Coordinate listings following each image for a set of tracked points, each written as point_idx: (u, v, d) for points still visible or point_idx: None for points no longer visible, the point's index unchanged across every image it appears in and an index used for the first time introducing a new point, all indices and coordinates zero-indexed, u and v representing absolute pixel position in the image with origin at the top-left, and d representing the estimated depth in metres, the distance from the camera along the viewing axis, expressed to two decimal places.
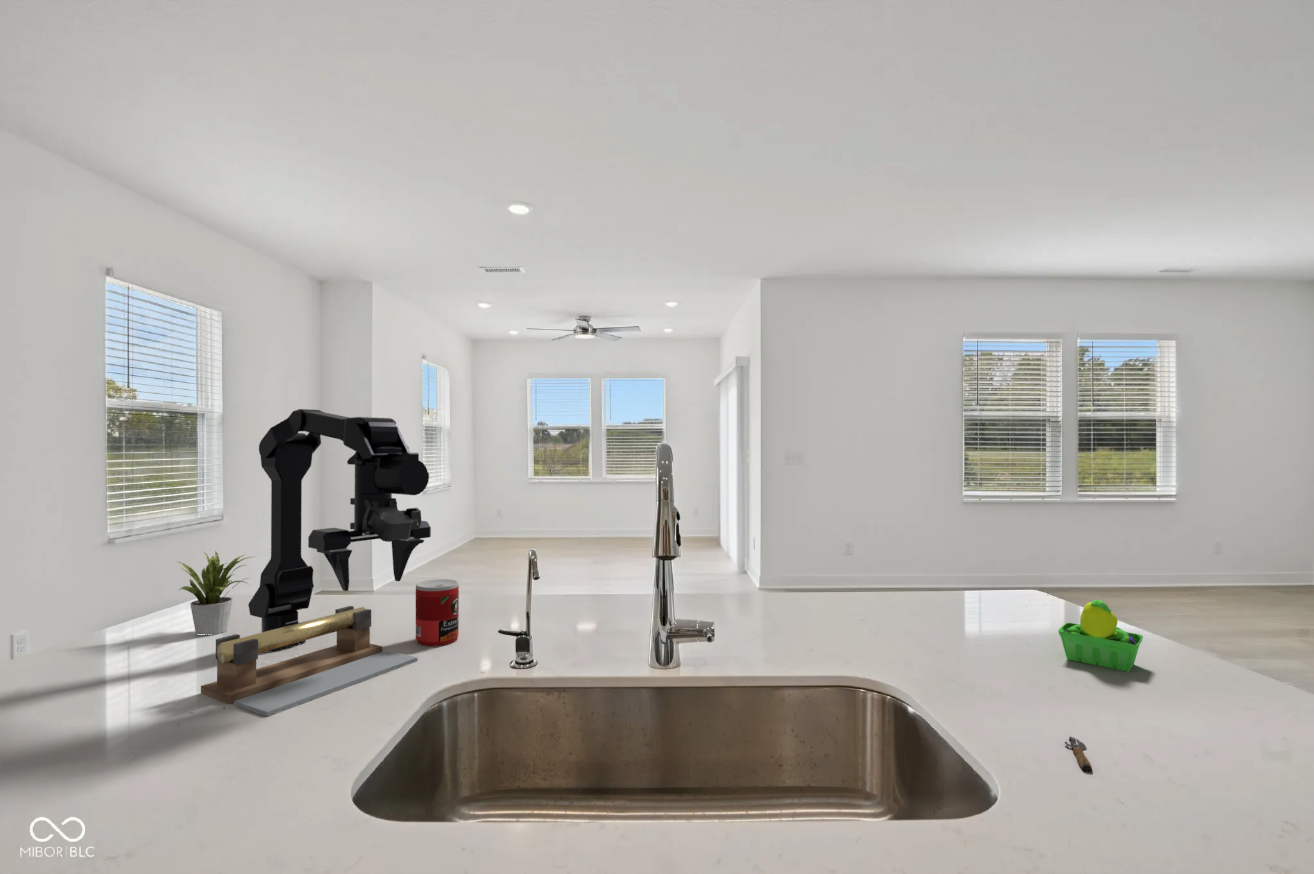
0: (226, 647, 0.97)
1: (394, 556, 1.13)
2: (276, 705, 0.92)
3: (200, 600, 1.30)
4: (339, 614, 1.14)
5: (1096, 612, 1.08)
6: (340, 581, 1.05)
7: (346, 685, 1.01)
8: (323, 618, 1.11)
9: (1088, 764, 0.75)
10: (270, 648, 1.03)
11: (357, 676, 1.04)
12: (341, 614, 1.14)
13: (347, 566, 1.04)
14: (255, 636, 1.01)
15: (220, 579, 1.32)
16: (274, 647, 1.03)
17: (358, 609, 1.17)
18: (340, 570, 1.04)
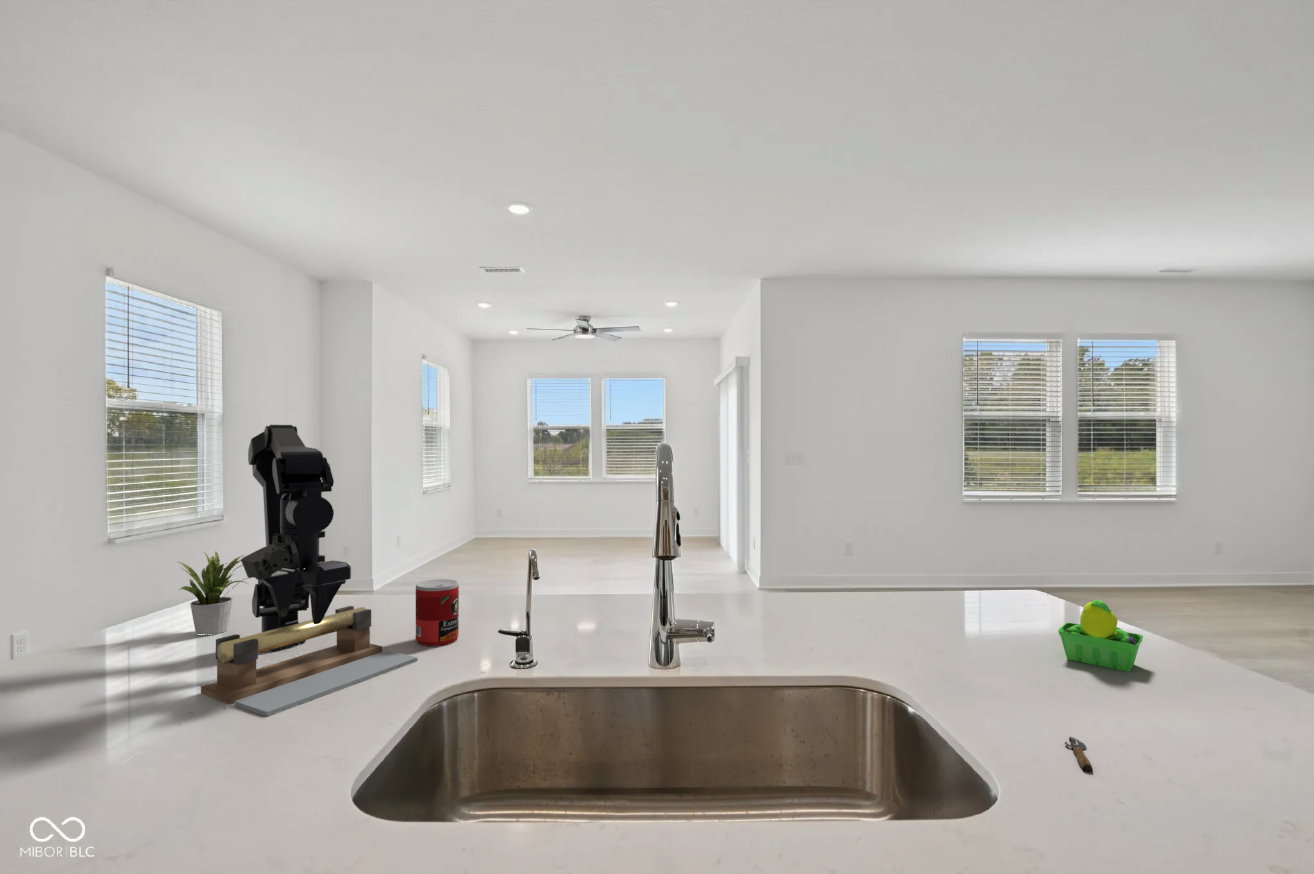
0: (226, 647, 0.97)
1: None
2: (276, 705, 0.92)
3: (200, 600, 1.30)
4: (339, 614, 1.14)
5: (1096, 612, 1.08)
6: None
7: (346, 685, 1.01)
8: (323, 618, 1.11)
9: (1088, 764, 0.75)
10: (270, 648, 1.03)
11: (357, 676, 1.04)
12: (341, 614, 1.14)
13: (273, 593, 1.09)
14: (255, 636, 1.01)
15: (220, 579, 1.32)
16: (274, 647, 1.03)
17: (358, 609, 1.17)
18: None
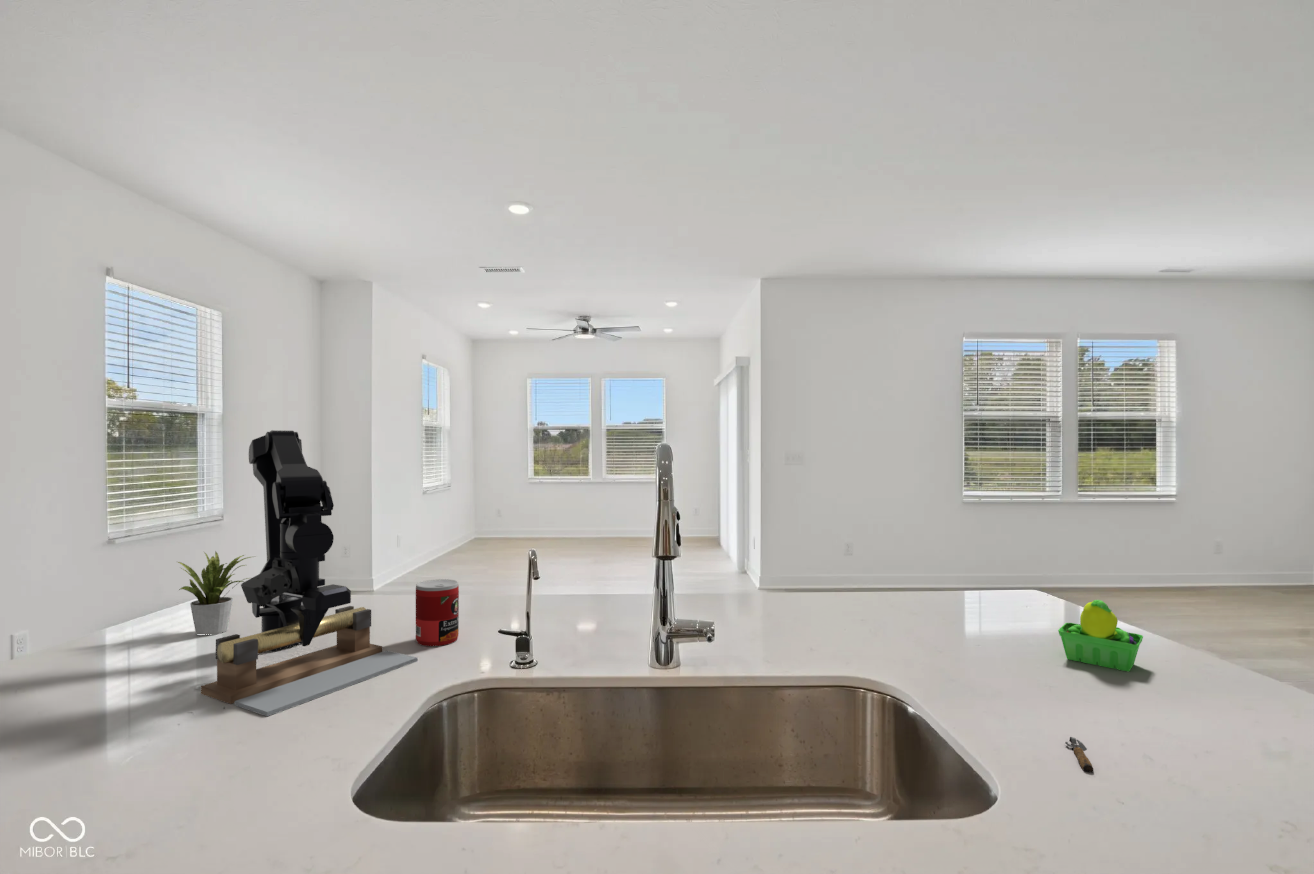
0: (225, 647, 0.97)
1: None
2: (276, 705, 0.92)
3: (200, 600, 1.30)
4: (339, 614, 1.14)
5: (1096, 612, 1.08)
6: None
7: (346, 685, 1.01)
8: (323, 618, 1.11)
9: (1089, 764, 0.75)
10: (270, 648, 1.03)
11: (357, 676, 1.04)
12: (341, 614, 1.14)
13: (284, 619, 1.08)
14: (255, 636, 1.01)
15: (220, 579, 1.32)
16: (274, 647, 1.03)
17: (358, 609, 1.17)
18: None
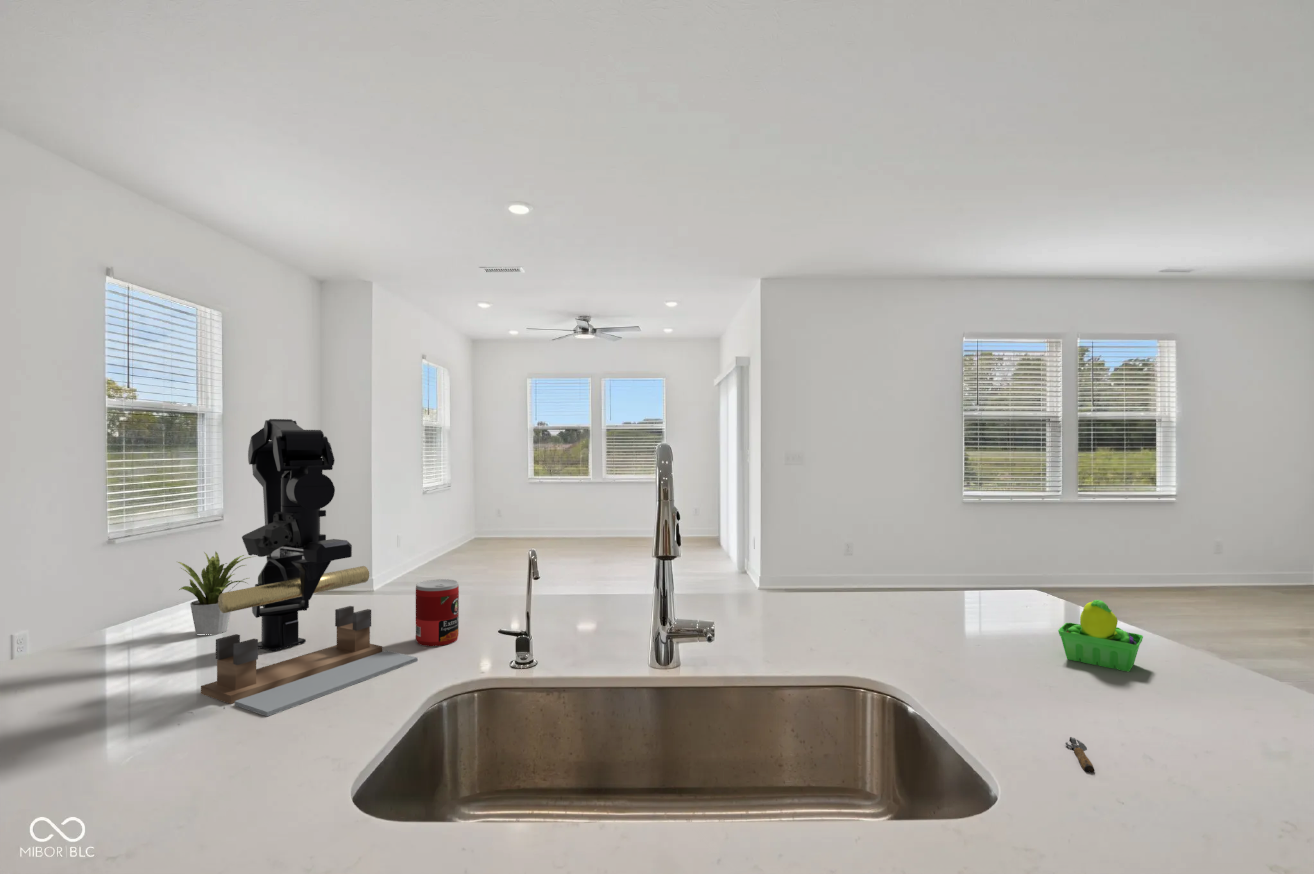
0: (226, 596, 0.97)
1: None
2: (276, 705, 0.92)
3: (200, 600, 1.30)
4: (340, 571, 1.14)
5: (1096, 612, 1.08)
6: None
7: (346, 685, 1.01)
8: (324, 574, 1.11)
9: (1090, 765, 0.75)
10: (271, 600, 1.03)
11: (357, 676, 1.04)
12: (342, 571, 1.14)
13: (285, 574, 1.08)
14: (256, 588, 1.01)
15: (220, 579, 1.32)
16: (275, 600, 1.03)
17: (359, 567, 1.17)
18: None
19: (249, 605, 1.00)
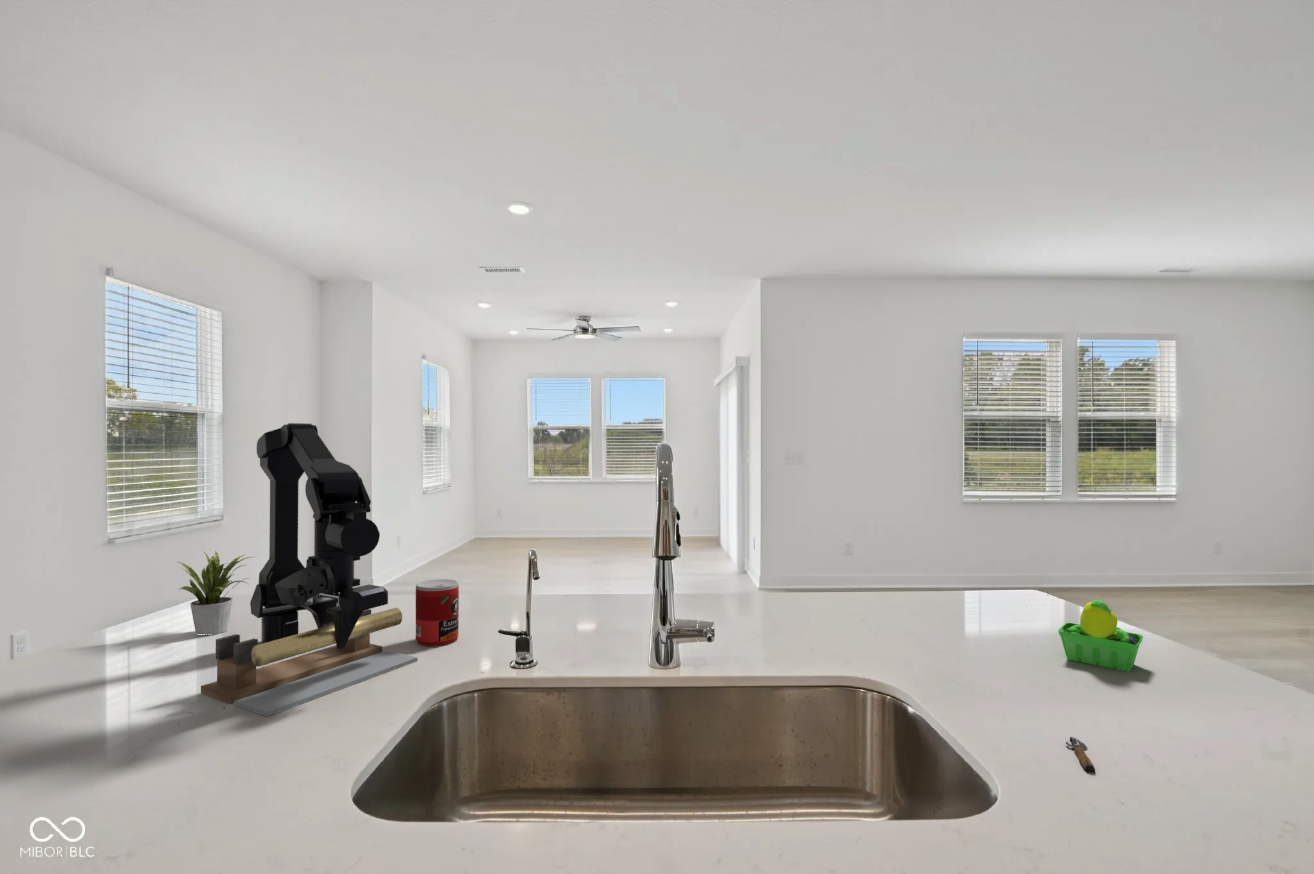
0: (261, 649, 0.93)
1: None
2: (276, 705, 0.92)
3: (200, 600, 1.30)
4: (373, 615, 1.10)
5: (1096, 612, 1.08)
6: None
7: (346, 685, 1.01)
8: None
9: (1091, 764, 0.75)
10: (305, 651, 0.98)
11: (357, 676, 1.04)
12: (375, 615, 1.10)
13: (318, 621, 1.04)
14: (290, 638, 0.97)
15: (220, 579, 1.32)
16: (309, 650, 0.99)
17: (392, 610, 1.13)
18: None
19: (283, 657, 0.95)
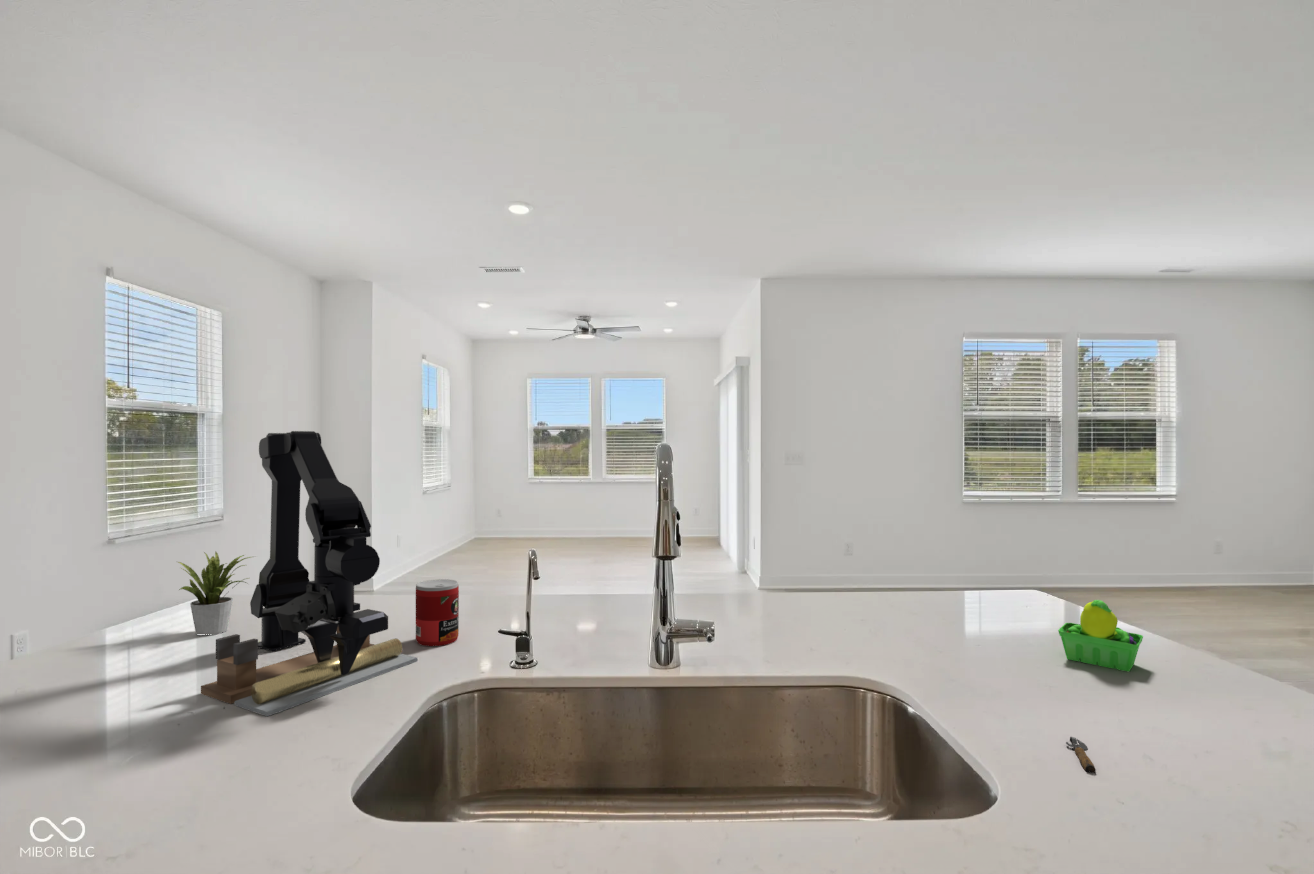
0: (260, 687, 0.93)
1: None
2: (276, 705, 0.92)
3: (200, 600, 1.30)
4: (373, 646, 1.10)
5: (1096, 612, 1.08)
6: None
7: (346, 685, 1.01)
8: None
9: (1091, 764, 0.75)
10: (305, 686, 0.98)
11: (357, 676, 1.04)
12: (374, 647, 1.10)
13: (314, 645, 1.04)
14: (289, 674, 0.97)
15: (220, 579, 1.32)
16: (309, 685, 0.99)
17: (391, 641, 1.13)
18: None
19: (283, 694, 0.95)
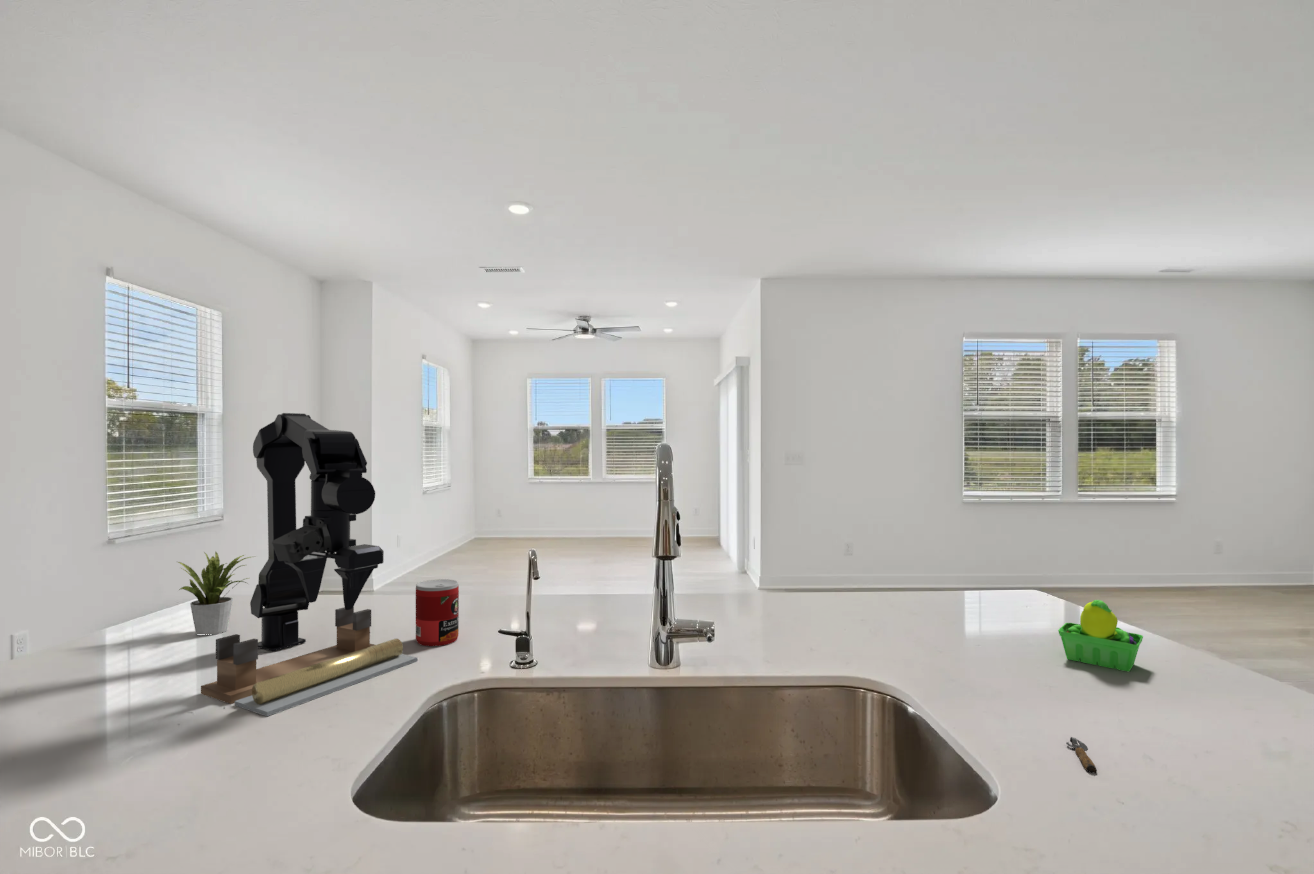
0: (261, 688, 0.93)
1: None
2: (276, 705, 0.92)
3: (200, 600, 1.30)
4: (374, 647, 1.09)
5: (1096, 612, 1.08)
6: None
7: (346, 685, 1.01)
8: (358, 652, 1.07)
9: (1092, 765, 0.75)
10: (305, 687, 0.98)
11: (357, 676, 1.04)
12: (376, 647, 1.10)
13: (303, 578, 1.06)
14: (291, 675, 0.97)
15: (220, 579, 1.32)
16: (309, 686, 0.99)
17: (393, 641, 1.13)
18: None
19: (283, 695, 0.95)
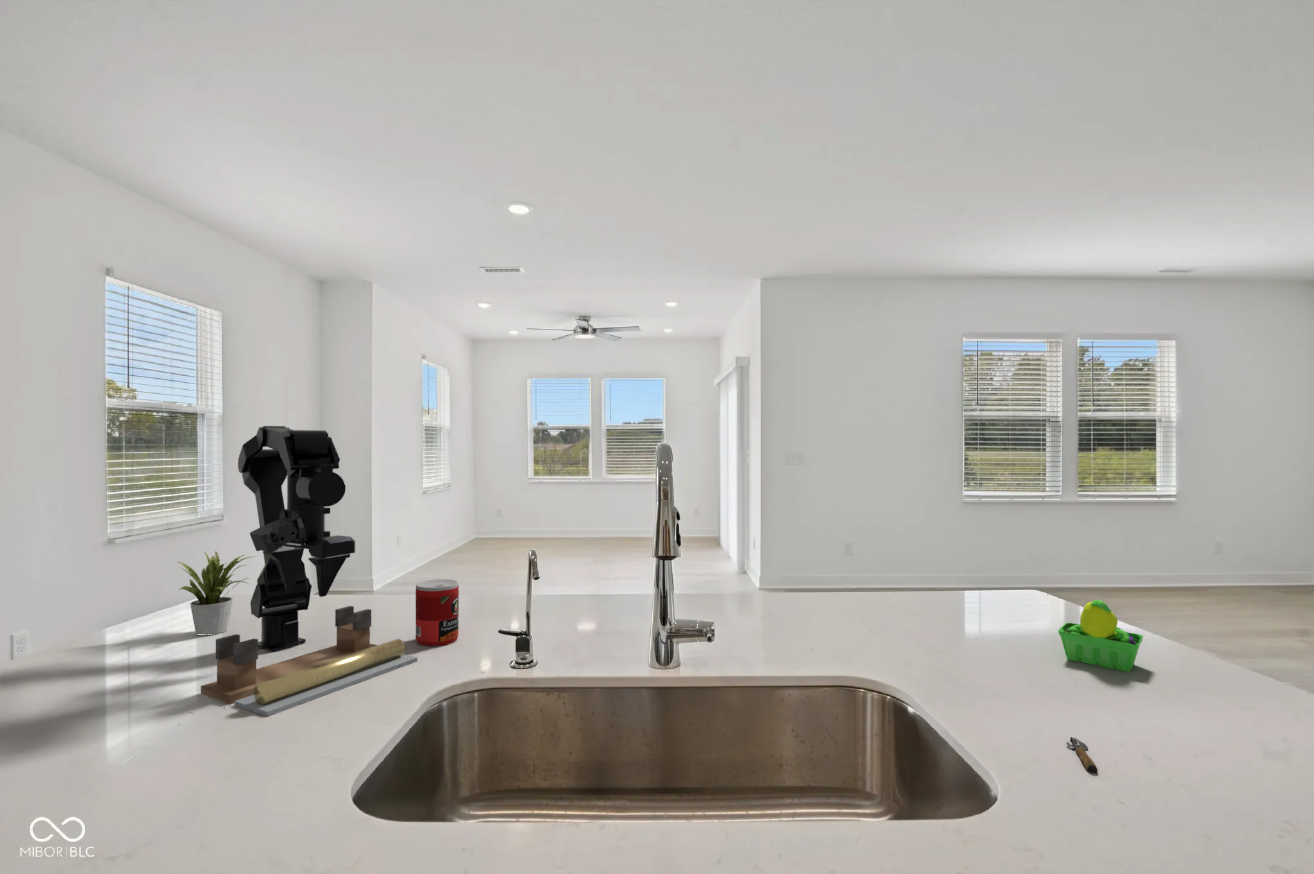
0: (264, 691, 0.92)
1: None
2: (276, 705, 0.92)
3: (200, 600, 1.30)
4: (378, 649, 1.09)
5: (1096, 612, 1.08)
6: None
7: (346, 685, 1.01)
8: (362, 655, 1.06)
9: (1093, 764, 0.75)
10: None
11: (357, 676, 1.04)
12: (379, 650, 1.09)
13: (281, 568, 1.13)
14: (294, 678, 0.96)
15: (220, 579, 1.32)
16: (310, 687, 0.99)
17: (396, 643, 1.12)
18: None
19: None
